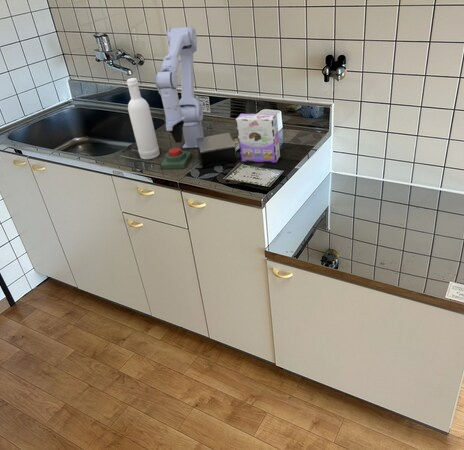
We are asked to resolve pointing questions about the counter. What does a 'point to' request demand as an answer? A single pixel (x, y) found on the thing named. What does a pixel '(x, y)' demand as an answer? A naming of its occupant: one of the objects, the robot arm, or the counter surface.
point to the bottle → (142, 122)
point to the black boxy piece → (218, 157)
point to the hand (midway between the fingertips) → (178, 141)
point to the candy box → (258, 137)
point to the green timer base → (176, 160)
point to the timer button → (174, 152)
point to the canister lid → (215, 142)
